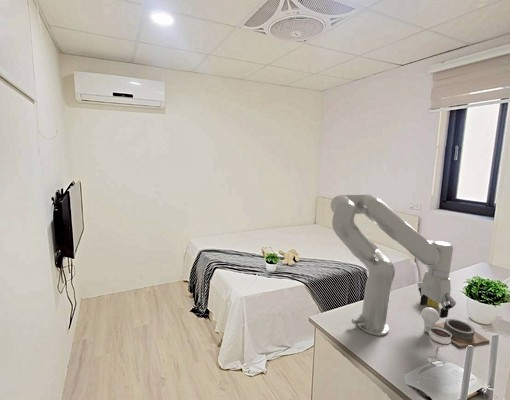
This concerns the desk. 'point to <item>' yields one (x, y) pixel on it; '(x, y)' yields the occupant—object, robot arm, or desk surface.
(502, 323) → the desk surface
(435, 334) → the wineglass
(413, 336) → the desk surface
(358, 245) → the robot arm
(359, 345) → the desk surface
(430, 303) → the plant pot
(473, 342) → the bulb holder
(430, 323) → the lightbulb
